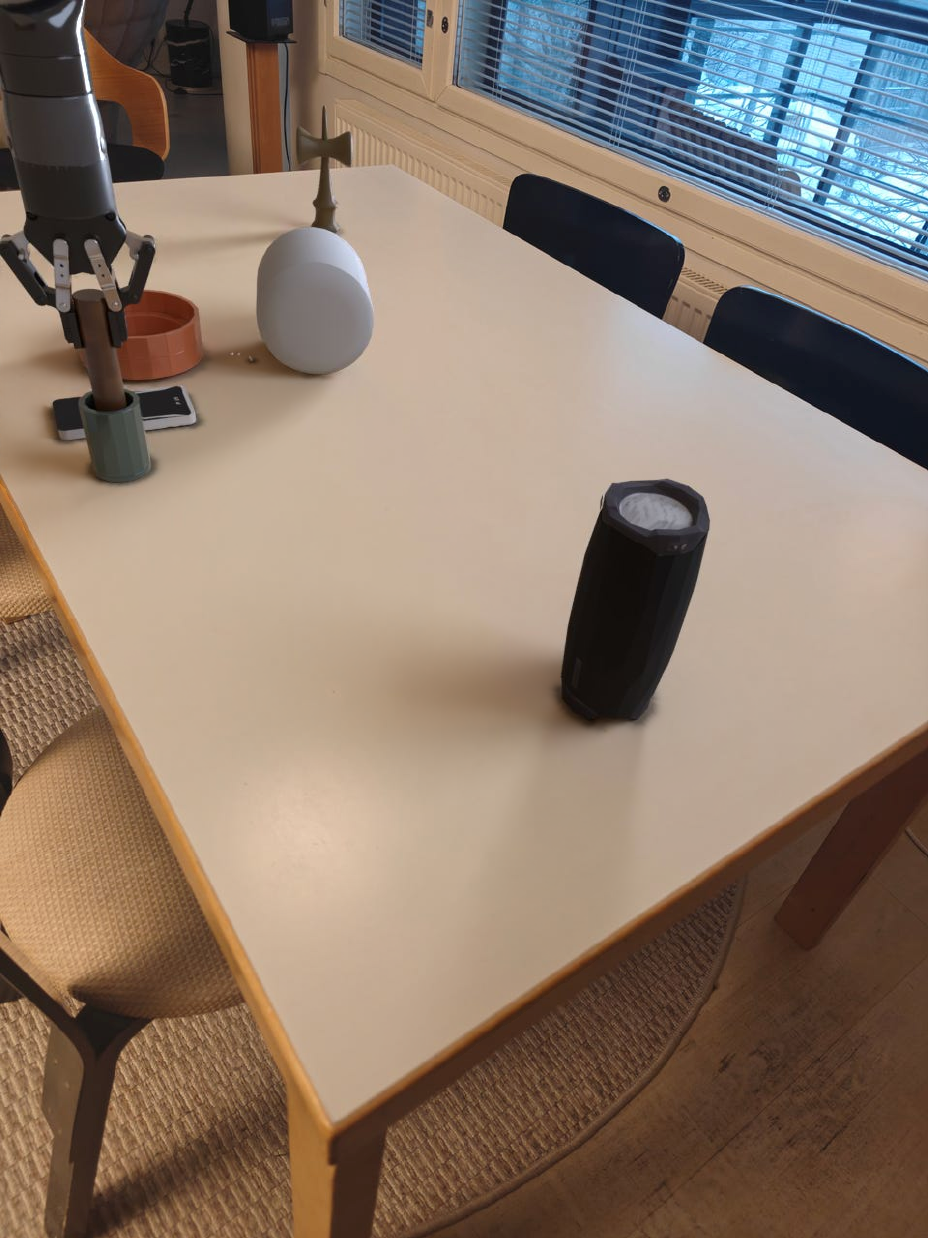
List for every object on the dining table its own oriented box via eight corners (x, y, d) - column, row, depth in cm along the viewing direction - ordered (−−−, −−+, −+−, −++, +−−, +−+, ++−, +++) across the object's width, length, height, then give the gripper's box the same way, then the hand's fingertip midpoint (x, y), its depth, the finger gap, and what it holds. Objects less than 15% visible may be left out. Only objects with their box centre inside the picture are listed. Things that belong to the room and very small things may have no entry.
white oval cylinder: (204, 337, 108) (239, 242, 124) (288, 417, 117) (310, 318, 133) (314, 252, 99) (336, 161, 115) (395, 344, 108) (405, 249, 124)
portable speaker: (628, 651, 78) (685, 465, 66) (670, 728, 72) (743, 538, 59) (539, 660, 76) (581, 470, 63) (574, 740, 70) (628, 546, 57)
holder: (92, 484, 90) (76, 415, 85) (95, 455, 94) (80, 387, 89) (150, 481, 92) (138, 413, 86) (150, 452, 96) (139, 385, 91)
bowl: (77, 386, 105) (67, 339, 101) (84, 334, 116) (75, 289, 112) (206, 382, 109) (201, 336, 105) (201, 331, 120) (196, 288, 116)
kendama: (299, 224, 157) (294, 99, 144) (351, 226, 159) (352, 103, 146) (298, 235, 153) (294, 107, 140) (353, 237, 154) (353, 111, 141)
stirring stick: (103, 452, 90) (70, 300, 79) (104, 437, 92) (72, 288, 81) (133, 450, 91) (105, 300, 80) (134, 436, 93) (106, 288, 82)
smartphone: (51, 399, 100) (183, 384, 105) (54, 410, 101) (185, 394, 106) (57, 431, 95) (196, 414, 100) (60, 442, 96) (197, 424, 101)
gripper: (147, 140, 77) (173, 327, 88) (-26, 135, 73) (24, 330, 85) (147, 164, 72) (174, 359, 83) (-40, 159, 68) (16, 364, 79)
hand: (98, 344), depth 84 cm, fingers closed on stirring stick, 3 cm apart
